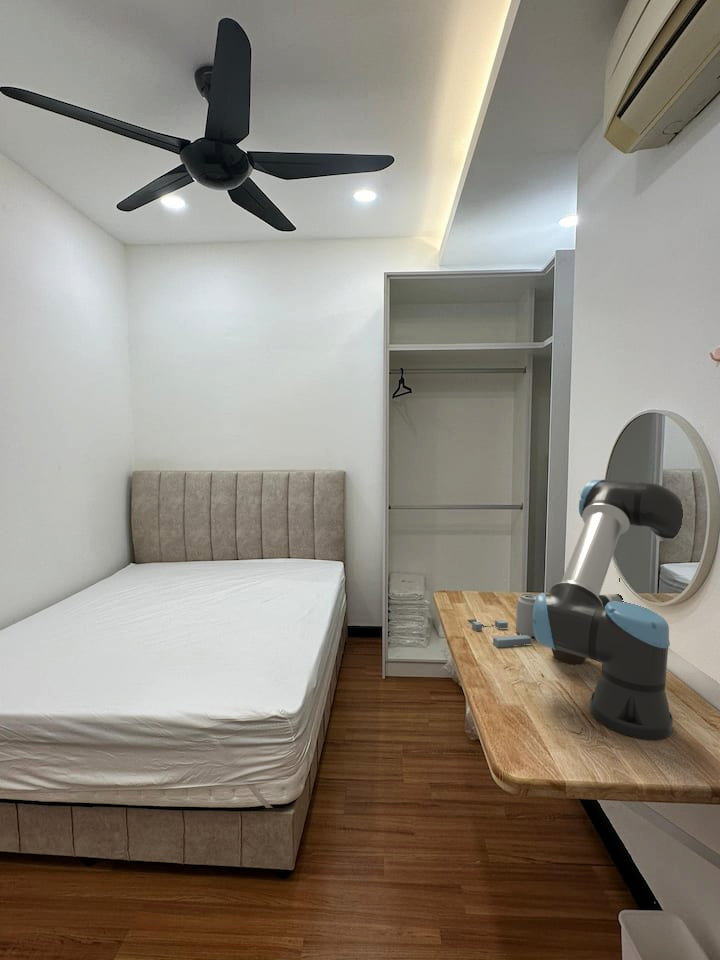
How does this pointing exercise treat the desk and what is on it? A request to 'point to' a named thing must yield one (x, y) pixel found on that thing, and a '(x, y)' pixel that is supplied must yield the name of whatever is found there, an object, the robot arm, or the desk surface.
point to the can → (525, 614)
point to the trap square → (474, 621)
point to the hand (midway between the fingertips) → (540, 610)
